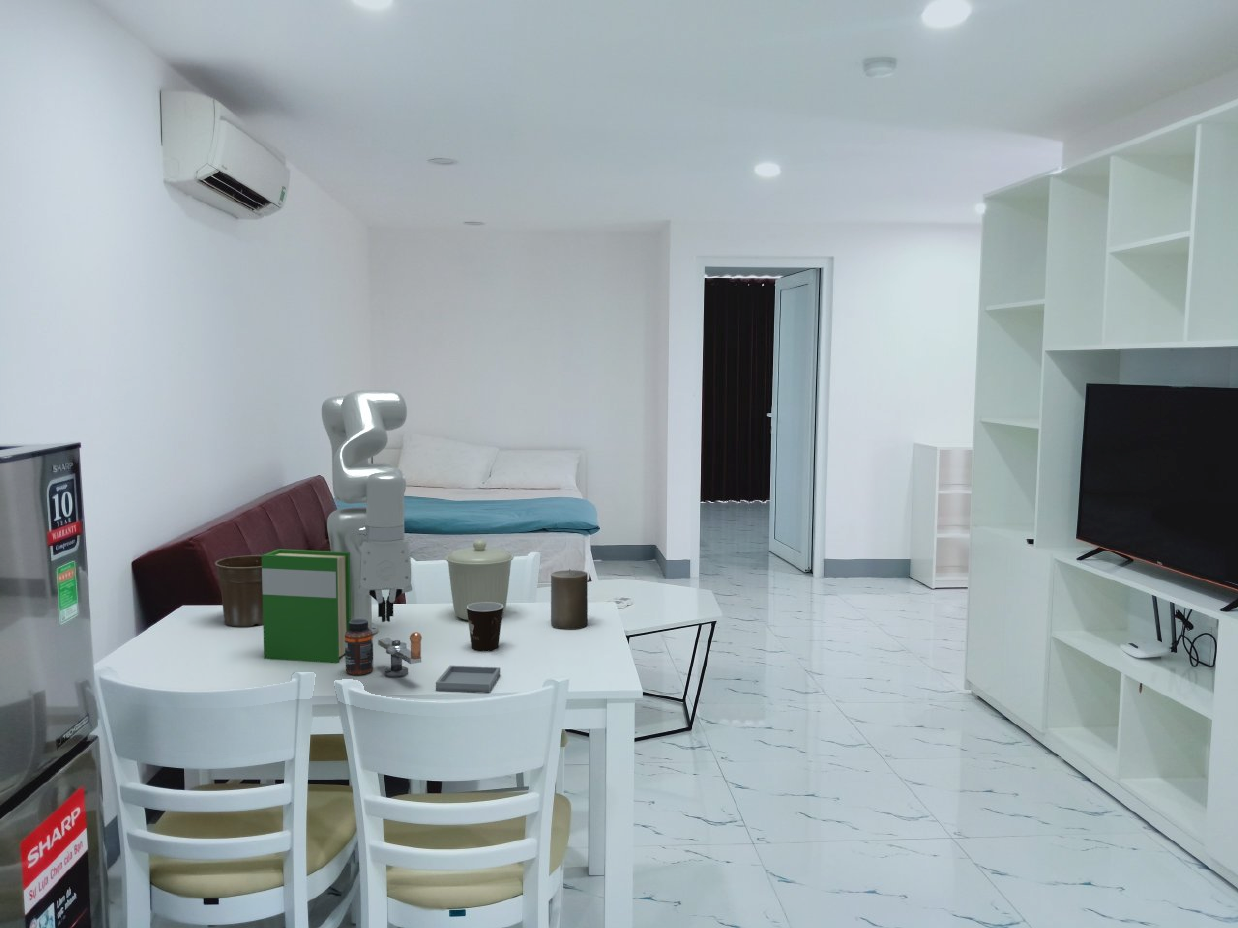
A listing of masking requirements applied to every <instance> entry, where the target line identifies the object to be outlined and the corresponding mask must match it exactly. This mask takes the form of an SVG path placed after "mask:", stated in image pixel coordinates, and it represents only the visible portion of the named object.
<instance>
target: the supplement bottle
mask: <svg viewBox="0 0 1238 928" xmlns="http://www.w3.org/2000/svg"><path fill="white" fill-rule="evenodd" d="M344 662H345V663H344V664H345V673H347V674H349V675H352V676H361V675H366V674H370V673H371V672H372V671H374V665H375V664H374V634H373V633H372V631H371V630H370V629H369V628H368V620H365V619H356V620H352V621H350V622H349V630H348V631H347V632H346V633H345V661H344Z"/></svg>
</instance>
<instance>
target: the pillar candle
mask: <svg viewBox="0 0 1238 928" xmlns="http://www.w3.org/2000/svg"><path fill="white" fill-rule="evenodd" d="M588 575H589V574H588V572H587V571H583V570H577V569H576V570H575V569H573V570H572V569H570V568H569V569H566V570H557V571H553V572H552V573H550V625H551V626H552V628H555V629H560V630H578V629H582V628H586V627H587V626H588V624H589V622H588V621H589V620H588V618H589V617H588V616H589V615H588V614H589V613H588V612H589V610H588V609H589V608H588V607H589V606H588V605H589V604H588V595H589V594H588V590H589V589H588V588H589V587H588V582H589V581H588V577H589V576H588Z"/></svg>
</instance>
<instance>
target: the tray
mask: <svg viewBox="0 0 1238 928" xmlns="http://www.w3.org/2000/svg"><path fill="white" fill-rule="evenodd" d="M500 677H501V667H498V666H497V667H496V666H494V667H493V666H475V665H473V666H472V665H471V666H470V665H469V666H468V665H449V666H448V667H447V668H446V670H445V671H444V672H443V673H442V675H440V677H439V678H438V679H437V680H436V681H435V692H451V693H455V692H456V693H457V692H458V693H475V692H485V693H484V694H489V692H490V693H491V691H492V689H493V688H494V686H495V685H496V683H497V682H498V680H499V678H500ZM496 681H497V682H496ZM494 684H495V685H494Z"/></svg>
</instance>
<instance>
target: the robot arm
mask: <svg viewBox="0 0 1238 928" xmlns="http://www.w3.org/2000/svg"><path fill="white" fill-rule="evenodd" d="M407 416H408V409H407V404H406V401H405V398H404V397H403V395H402V394H401V393H399V392H398V391H396V390H355V391H352V392H349V393H348V394H346V395H341V396H340V395H339V396H331V397H329V398H327V399H325V400H324V401H323V403H322V404H321V419H322V423H323V426H324V427H323V428H324V429H325V432H326V434H327V437H328V440H329V443H330V446H331V463H332V464H331V473H332V474H331V476H332V477H331V479H332V491H333V496H334V497H335V499H336V501H339V502H341V503H345V504H348V505H349V504H350V505H351V504H366V506H359V507H342V508H338V509H336V510H334V511H332V512H331V513H330V514H328V517H327V519H326V528H327V534H328V541H329V546H330V547H329V549H330V551H332V552H350V588H351V621H352V620H356V619H365V620H368V628H369V629H370V630H371V631H372V633H373V635H375V634H376V633H377V634H378V632H379V626H378V624H377V623H374V622H373V618H372V617H373V615H372V614H373V607H372V605H373V603H372V602H373V601H372V598H373V600H375V601H376V603H377V604H378V605H377V606H378V609H377V610H378V611H377V612H378V613H377V614H378V616H377V617H378V618H381V622H382V623H385V622H387V623H390V622H391V617H394V603H395V600H397V599H398V598H399V597H400V596H401V595H402V594H406V593H409V592H412V591H413V585H412V560H411V559H412V558H411V549H410V543H409V540H408V538H407V537H405V492H406V489H407V488H406V487H407V481H406V480H407V479H406V475H405V474H404V473H403V471H402V470H401V469H400V468H399V467H396V466H393V465H392V464H390V463H384V462H383V463H369V459H371V458H373V457H375V456H376V455H379V454H380V453H381V452H382V451H384V449H385V448H386V446H387V444H388V434H387V432H388V431H393V430H397V429H400V428H401V427H403V426H404V424H405V423H406V420H407ZM384 590H385V591H386V590H388V596H387V597H386V600H385V597H384V596H383V595H384V594H383V591H384Z"/></svg>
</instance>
